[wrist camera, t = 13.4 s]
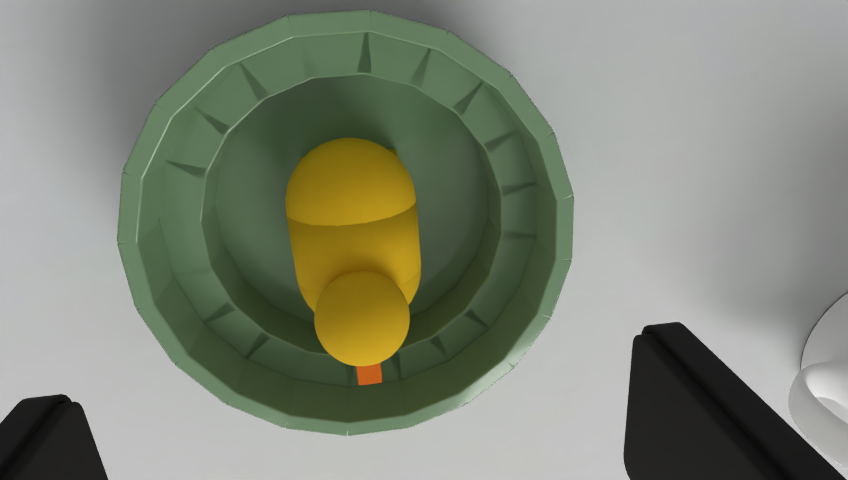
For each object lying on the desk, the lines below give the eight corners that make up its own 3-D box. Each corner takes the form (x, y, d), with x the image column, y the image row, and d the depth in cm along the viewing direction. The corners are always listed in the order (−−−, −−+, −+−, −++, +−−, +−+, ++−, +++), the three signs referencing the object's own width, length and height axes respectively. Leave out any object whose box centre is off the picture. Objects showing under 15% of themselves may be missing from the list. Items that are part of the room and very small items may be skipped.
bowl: (125, 29, 20) (55, 30, 15) (529, 0, 21) (580, -7, 16) (210, 377, 25) (177, 459, 20) (529, 338, 26) (568, 407, 21)
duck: (284, 131, 21) (255, 177, 15) (404, 120, 21) (426, 161, 15) (313, 316, 24) (299, 422, 17) (419, 304, 24) (442, 403, 18)
